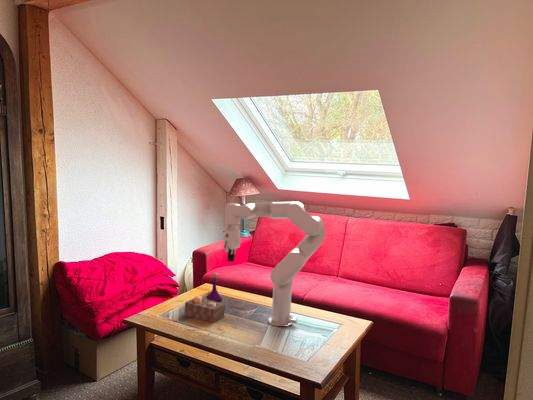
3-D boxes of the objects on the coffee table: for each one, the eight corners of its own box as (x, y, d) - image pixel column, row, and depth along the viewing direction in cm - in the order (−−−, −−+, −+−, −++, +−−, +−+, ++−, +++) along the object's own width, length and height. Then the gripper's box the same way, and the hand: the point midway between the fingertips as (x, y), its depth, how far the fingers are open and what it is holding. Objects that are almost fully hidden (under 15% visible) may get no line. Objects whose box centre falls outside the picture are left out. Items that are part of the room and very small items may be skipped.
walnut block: (224, 316, 211) (224, 303, 211) (213, 323, 202) (214, 309, 202) (196, 309, 219) (196, 297, 219) (184, 315, 210) (185, 302, 210)
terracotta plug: (202, 309, 214) (203, 297, 213) (198, 312, 210) (199, 299, 209) (196, 308, 215) (197, 295, 215) (192, 310, 212) (192, 297, 211)
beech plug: (217, 316, 210) (217, 303, 209) (212, 318, 206) (213, 305, 206) (210, 314, 212) (211, 301, 211) (206, 317, 208) (206, 304, 207)
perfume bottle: (205, 302, 231) (207, 271, 230) (218, 301, 235) (219, 270, 233) (209, 306, 225) (210, 275, 223) (222, 305, 228) (223, 274, 226)
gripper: (231, 229, 202) (229, 265, 204) (245, 226, 216) (243, 259, 217) (218, 227, 206) (217, 262, 207) (233, 224, 219) (231, 257, 221)
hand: (230, 261), depth 212 cm, fingers closed
